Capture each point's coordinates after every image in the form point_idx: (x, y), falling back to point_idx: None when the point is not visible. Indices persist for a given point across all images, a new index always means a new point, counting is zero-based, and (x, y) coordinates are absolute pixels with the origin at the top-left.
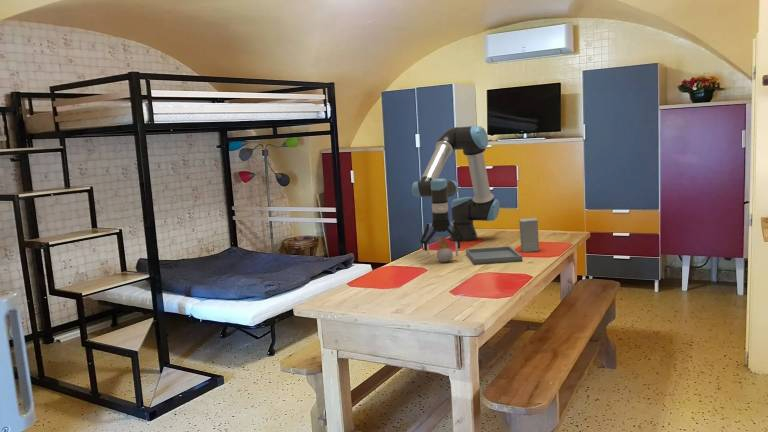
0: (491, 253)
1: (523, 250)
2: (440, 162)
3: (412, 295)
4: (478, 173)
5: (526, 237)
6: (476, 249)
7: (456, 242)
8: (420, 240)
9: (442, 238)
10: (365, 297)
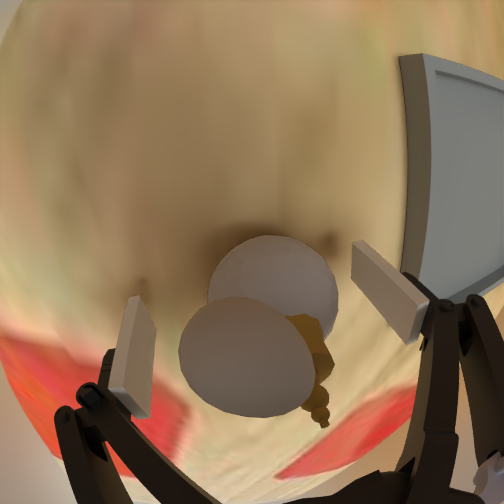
0: (491, 138)
1: None
2: None
3: (211, 489)
4: None
5: None
6: (465, 78)
7: (410, 343)
8: (62, 429)
9: (309, 396)
10: (136, 489)
